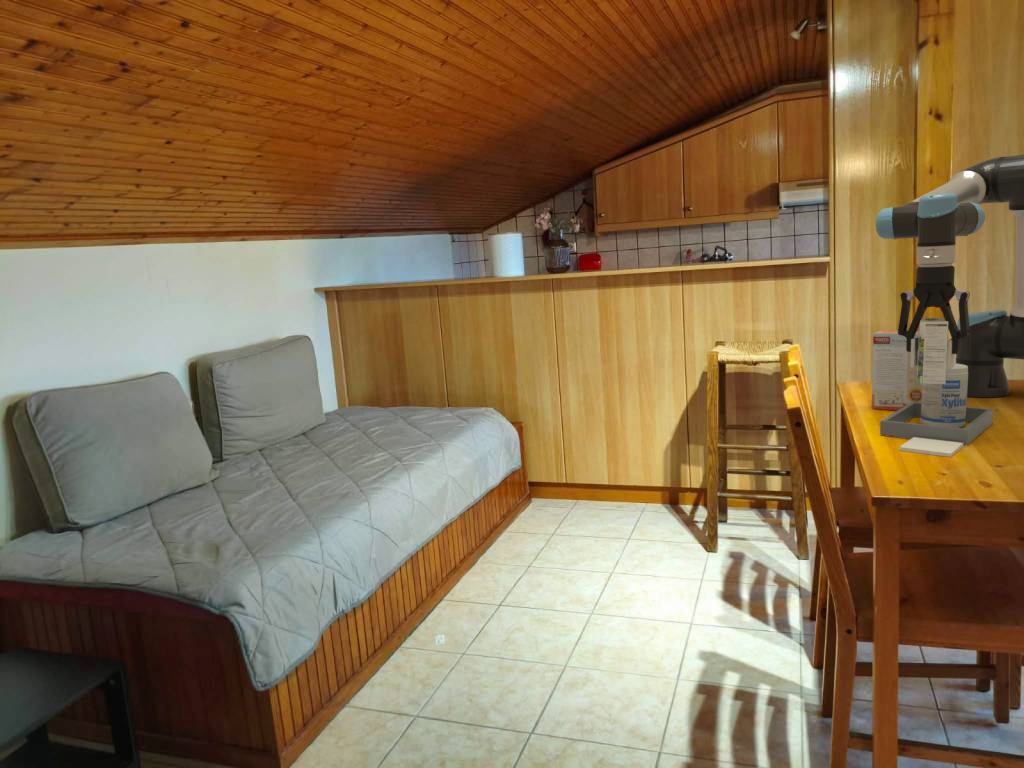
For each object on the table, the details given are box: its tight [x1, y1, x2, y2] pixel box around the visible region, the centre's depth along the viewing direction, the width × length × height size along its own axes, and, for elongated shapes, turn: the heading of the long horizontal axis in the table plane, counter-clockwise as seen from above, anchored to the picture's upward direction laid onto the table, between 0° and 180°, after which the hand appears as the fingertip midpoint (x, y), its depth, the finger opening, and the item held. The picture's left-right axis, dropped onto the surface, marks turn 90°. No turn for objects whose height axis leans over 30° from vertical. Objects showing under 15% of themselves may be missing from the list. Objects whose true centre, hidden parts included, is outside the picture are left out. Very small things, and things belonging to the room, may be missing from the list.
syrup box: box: [917, 317, 949, 384], centre depth 174 cm, size 6×6×14 cm
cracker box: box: [871, 330, 922, 412], centre depth 202 cm, size 14×6×21 cm, turn 48°
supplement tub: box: [920, 362, 968, 428], centre depth 185 cm, size 10×10×15 cm
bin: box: [879, 402, 994, 446], centre depth 182 cm, size 24×18×4 cm
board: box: [899, 437, 964, 458], centre depth 167 cm, size 10×10×1 cm
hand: (931, 366), depth 175 cm, fingers closed on syrup box, 7 cm apart
